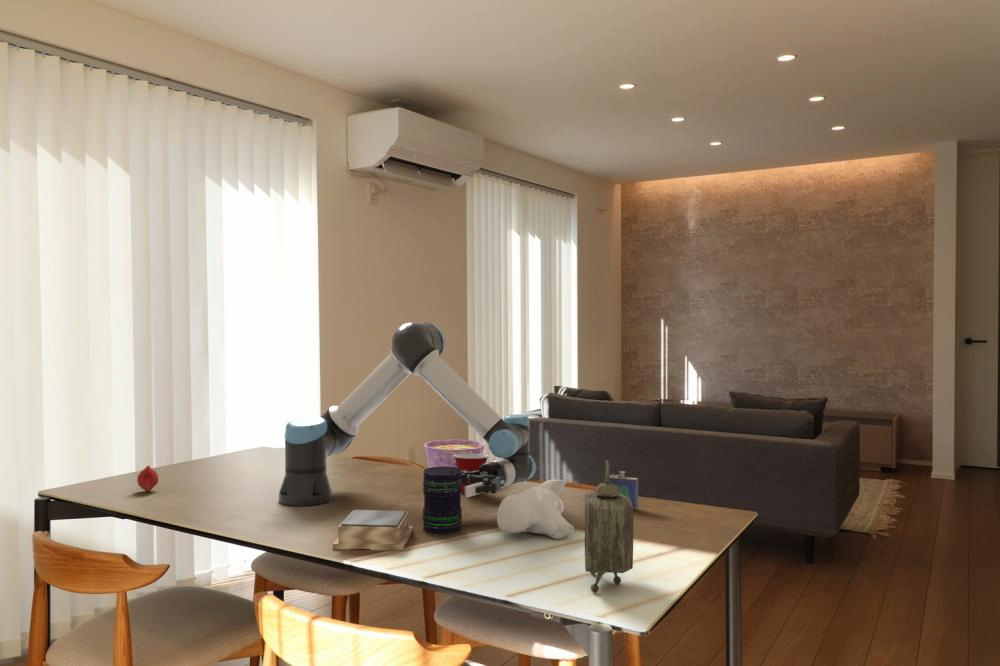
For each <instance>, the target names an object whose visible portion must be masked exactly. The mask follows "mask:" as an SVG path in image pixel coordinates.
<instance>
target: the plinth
mask: <svg viewBox="0 0 1000 666" xmlns="http://www.w3.org/2000/svg"><path fill="white" fill-rule="evenodd" d="M409 515H410V514H409V511H407V510H386V509H385V510H383V509H382V510H379V509H377V510H376V509H375V510H374V509H373V510H372V509H354V510H351V512H350V513H349V515H347V516H346V517H345V519H344V520H342V522H341V523H340V524H339V525H338V527H337V528H338V530H337V531H338V533H337V536H338V537H337V539H335V541H334V542H333V543H332V550H350V549H370V550H369V551H390V550H402V551H403V550H404V548H405V546H406V545H407V542H408V541H409V539H410V537H411V536H410V535H412V534H413V532H414V526H413V525H412V526H411V525H409V518H410V517H409ZM411 533H412V534H411ZM405 544H406V545H405Z"/></svg>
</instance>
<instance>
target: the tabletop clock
mask: <svg viewBox="0 0 1000 666" xmlns="http://www.w3.org/2000/svg"><path fill="white" fill-rule="evenodd" d="M604 465H605V471H604V473H605V474H604V482H601V483H600V484H597V486H596V487H595V489H594V492H585V494H584V495H585V499H584V500H585V501H584V502H585V504H584V507H585V508H584V569H585V572H588V573H589V574H591V575H595V574H596V573H597V575H596V579H595V583H592V585H590V591H591V592H593V593H594V594H595V593H597V592H599V589H600V586H599V585H598V584H599V582H600V580H601V578H602V577H603V575H605V573H608V574H609V573H610V574H611V573H613V574H614V577H613V580H612V582H613V584H614V585H617V586H618V585H621V582H622V578H621V576H618V574H624V573H626V572H628V571H630V570H631V569H632V570H633V568H634V567H633V566H634V532H635V531H634V529H635V527H634V524H635V523H634V522H635V521H634V518H635V517H634V511H633V506H632V502H631V500H630V498H628V497H626V496H624V495H623V494H620V492H619V489H618V488H617V487H616V486H615V485H614V484H612V483H610V476H611V475H610V461H609V460H607V459H606V460H605V463H604Z"/></svg>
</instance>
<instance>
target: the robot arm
mask: <svg viewBox="0 0 1000 666" xmlns="http://www.w3.org/2000/svg"><path fill="white" fill-rule="evenodd" d="M445 348H446V339H445V334H444V333H443V331H442V329H441V328H440V327H438V326H437V324H434V323H431V322H429V321H421V322H406V323H403V324H401V325H400V326H399V327H398V328H396V329H395V331H394V333H393V335H392V337H391V346H390V349H389V350H390V351H389V353H390V354H389V355H387V357H386V358H385V359H384V360H382V361H381V362H380V363H379V364H378V366H377V367H376V368H375V369H373V371H372V372H370V374H369V375H368V376H366V378H365V379H364V380H362V382H361V383H360V384H359V385H358V386H357V387H355V389H354V390H353V391H352V392H351V393H350V394H349V395H348V396H347V397H346V398H345V399H344V400H343V401H342V402H341V403H340V404H339V405H331V406H330V407H329V408H328V409H327V410H326V411H325V412H324V413H323V414H322V415H321V416H303V417H298V418H294V419H291V420H290V421H288V423H286V425H285V433H284V442H285V443H284V444H285V445H284V457H285V458H284V459H285V460H284V461H285V462H284V470H285V471H284V477H283V480H282V483H281V486H280V489H279V492H278V503H280V504H282V505H285V506H286V505H287V506H296V507H297V506H299V507H300V506H301V507H304V506H307V507H308V506H315V505H316V506H317V505H321V504H326V503H329V502H331V501H332V500H333V489H332V486H331V482H330V480H329V476H328V474H327V457H330V456H334V455H338V454H340V453H342V452H344V451H345V450H346V449H348V448H349V447H350V445H351V444H352V442H353V440H354V438H355V437H356V436H357V435H358V433H359V432H360V426H359V425H361V424H362V423H363V422H364V421H365V420H367V418H368V417H369V416H370V415H371V414H372V413H373V412H374V411H375V410H376V409H377V408H378V407H379V406H380V405H381V404H382V403H383V402H384V401H385V400H387V398H388V397H389V396H390V395H391V394H392V393H393V392H394V391H395V390H396V389H397V388H398V387H399V386H401V384H402V383H403V382H404V381H406V379H407V378H408V377H409V376H410V375H413V376H419V377H420V378H422V379H423V380H424V381H425V383H427V385H428V386H429V387H431V388H432V389H433V391H435V392H436V394H438V395H439V396H440V397H441V398H442V399H443V401H445V402H446V403H447V404H448V405H449V406H450V407H451V408H452V409H453V411H455V412H456V413H457V414H458V415H459V416H460V417H461V418H462V419H463V420H464V421H465V422H466V423H467V424H468V425H469V426H470V427H471V428H472V429H473V430H474V431H475V432H476V433H477V434H479V436H480V437H481V438H482V439H483V440H484V441H485V442H486V443H487V444H488V449H489V450H490V452H491V454H492V455H493V456H495V457H497V458H499V459H497V460H493V461H489V462H486V463H485V464H483V465H481V466H480V468H479V469H478V470H475V471H472V472H468V470H463V471H462V474H461V476H462V483H464V484H465V485H468V486H465V495H464V498H466V499H468V498H470V497H474V496H477V495H481V494H483V493H484V494H488V493H491V494H493V495H494V494H497V492H498V491H499V490H500V489H501V490H502V489H504V487H507V486H510V485H511V486H512V485H513V484H519V483H524V482H526V481H527V480H529V479H532V478H533V476H535V474H536V471H537V463H536V461H535V459H534V458H533V457H532V456H531V455H530V429H531V425H530V417H529V416H528V415H526V414H525V415H524V414H507V415H505V416H504V418H502V417H501V416H500V414H498V413H497V411H495V409H493V408H492V407H491V406H490V405H489V404H488V403H487V402H486V401H485V400H484V399H483V398H482V397H481V396H480V395H479V394H478V393H477V391H475V390H474V389H473V388H472V387H471V386H470V385H469V384H468V383H467V382H466V381H465V380H464V379H463V378H462V377H461V376H460V375H458V373H456V371H454V370H453V368H452V367H451V366H450V365H448V363H446V362H445V360H443V359H442V358H441V356H442V354H443V353H444V350H445ZM468 478H469V482H467V480H468Z"/></svg>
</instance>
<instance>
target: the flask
mask: <svg viewBox="0 0 1000 666" xmlns="http://www.w3.org/2000/svg"><path fill="white" fill-rule="evenodd" d="M625 474H626V471H622V470H621V471H619V474H611V475H609V476H610V483H612V484H614V485H615V486H616V487H617V488H618V489H619V492H620V494H623V495H624V496H626V497H628V498H630V500H631V502H632V506H633V510H637V509H638V510H639V478H637V477H627V476H626V477H625ZM638 510H637V511H638Z"/></svg>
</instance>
